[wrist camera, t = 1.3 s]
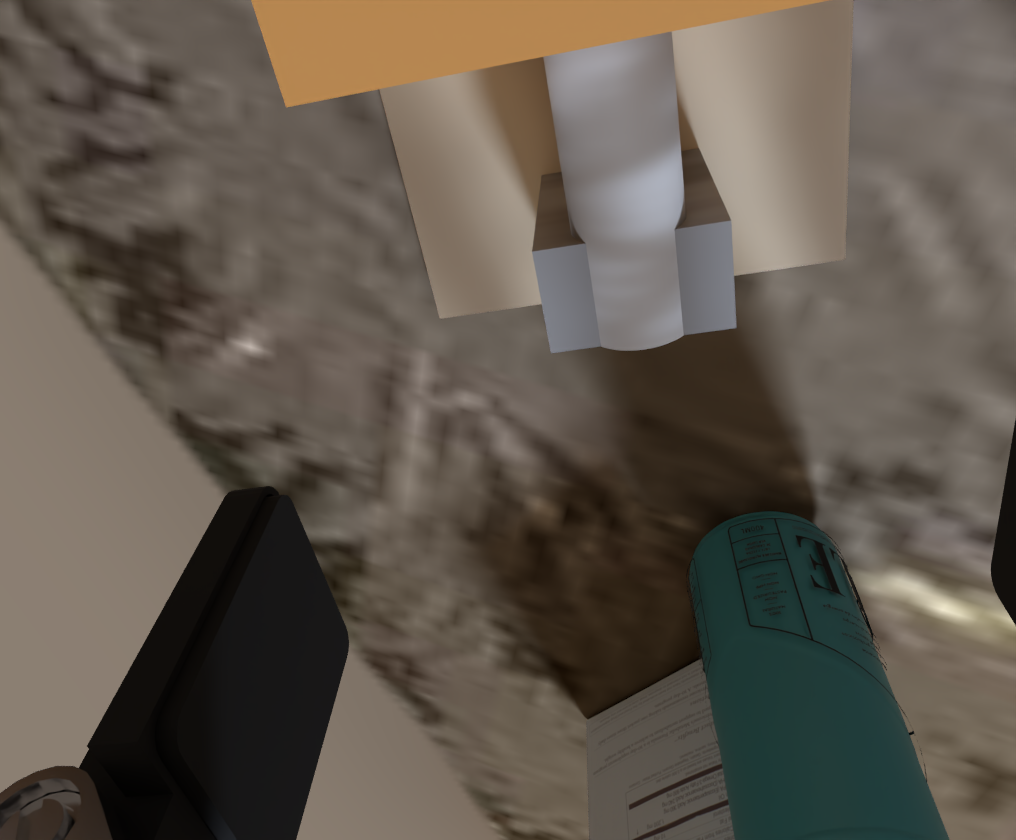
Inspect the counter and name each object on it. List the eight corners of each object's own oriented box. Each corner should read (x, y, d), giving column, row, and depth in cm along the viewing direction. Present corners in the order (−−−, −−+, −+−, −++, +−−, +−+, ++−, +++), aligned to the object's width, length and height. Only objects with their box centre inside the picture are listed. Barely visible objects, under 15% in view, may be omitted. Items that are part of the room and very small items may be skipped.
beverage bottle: (656, 569, 37) (718, 1119, 21) (724, 461, 34) (863, 1023, 17) (784, 609, 38) (942, 1168, 22) (863, 507, 35) (1125, 1087, 18)
